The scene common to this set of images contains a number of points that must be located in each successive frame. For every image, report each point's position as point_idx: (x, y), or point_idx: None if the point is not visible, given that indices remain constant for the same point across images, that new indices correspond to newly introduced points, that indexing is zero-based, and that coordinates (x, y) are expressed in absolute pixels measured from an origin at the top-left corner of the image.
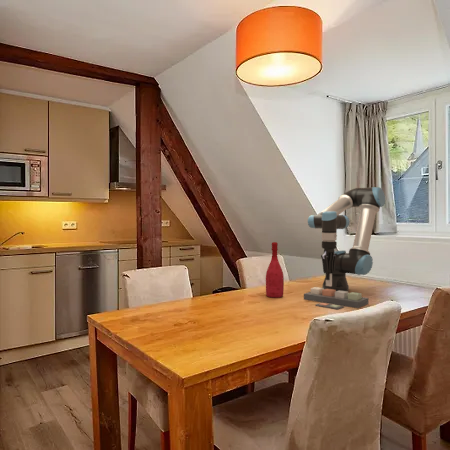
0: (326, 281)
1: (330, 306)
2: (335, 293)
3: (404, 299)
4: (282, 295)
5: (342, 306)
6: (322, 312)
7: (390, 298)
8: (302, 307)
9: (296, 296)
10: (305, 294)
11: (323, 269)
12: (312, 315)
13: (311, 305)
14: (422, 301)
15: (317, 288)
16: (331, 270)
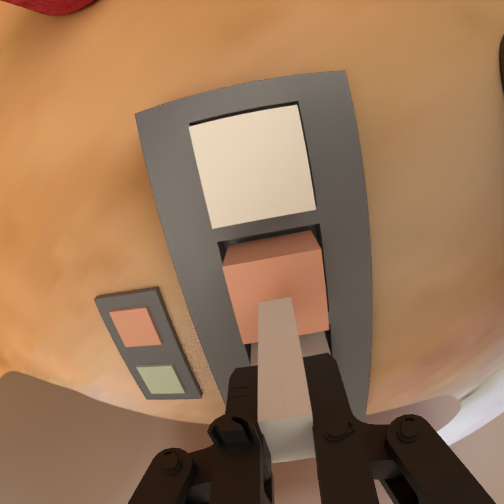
0: (260, 340)
1: (138, 368)
2: (251, 364)
3: (490, 398)
4: (89, 1)
5: (192, 397)
6: (70, 372)
7: (492, 375)
8: (33, 274)
9: (187, 15)
10: (139, 130)
11: (135, 496)
12: (28, 364)
13: (85, 276)
14: (479, 426)
15: (247, 178)
16: (320, 494)
